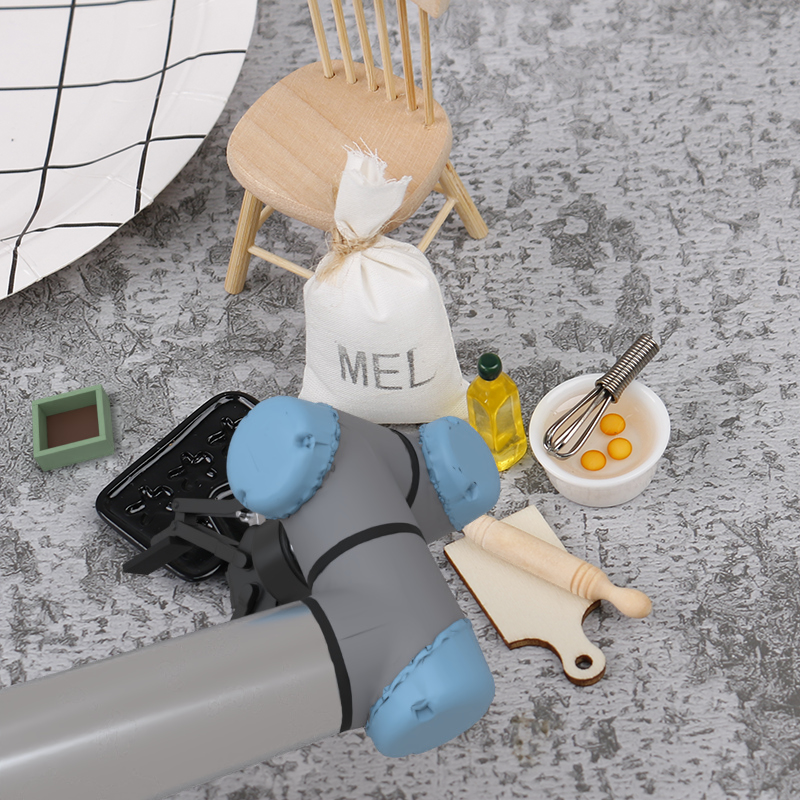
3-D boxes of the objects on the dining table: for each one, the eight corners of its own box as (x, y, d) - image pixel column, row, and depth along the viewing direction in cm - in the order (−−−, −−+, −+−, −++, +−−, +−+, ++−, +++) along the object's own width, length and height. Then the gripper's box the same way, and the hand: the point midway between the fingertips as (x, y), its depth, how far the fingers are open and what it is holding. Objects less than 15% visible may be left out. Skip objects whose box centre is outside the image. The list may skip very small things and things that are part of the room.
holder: (114, 454, 121) (106, 439, 118) (44, 472, 120) (33, 457, 117) (109, 399, 126) (101, 383, 123) (41, 416, 125) (31, 400, 122)
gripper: (389, 707, 70) (199, 788, 79) (317, 417, 81) (159, 518, 91) (321, 709, 64) (126, 796, 74) (254, 396, 75) (93, 507, 85)
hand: (144, 643), depth 82 cm, fingers open, 13 cm apart
